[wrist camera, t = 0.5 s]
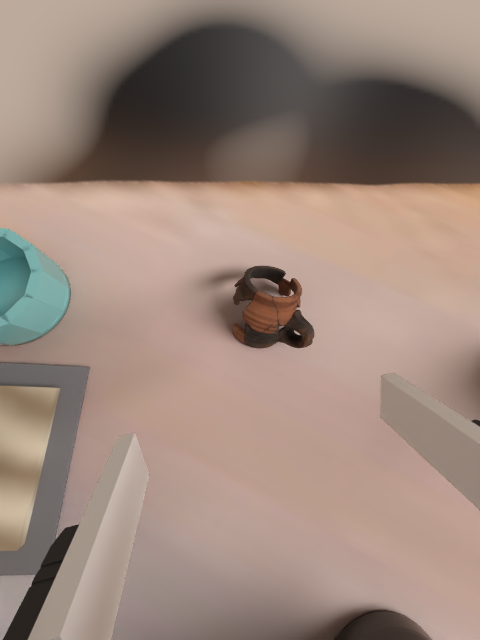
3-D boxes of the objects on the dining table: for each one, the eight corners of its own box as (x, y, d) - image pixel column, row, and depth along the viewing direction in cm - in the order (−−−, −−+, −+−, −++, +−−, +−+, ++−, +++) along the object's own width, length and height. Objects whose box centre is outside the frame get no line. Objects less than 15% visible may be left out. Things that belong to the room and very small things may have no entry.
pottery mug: (211, 326, 33) (221, 277, 28) (250, 298, 40) (264, 253, 34) (285, 381, 30) (314, 337, 24) (315, 339, 36) (343, 297, 30)
